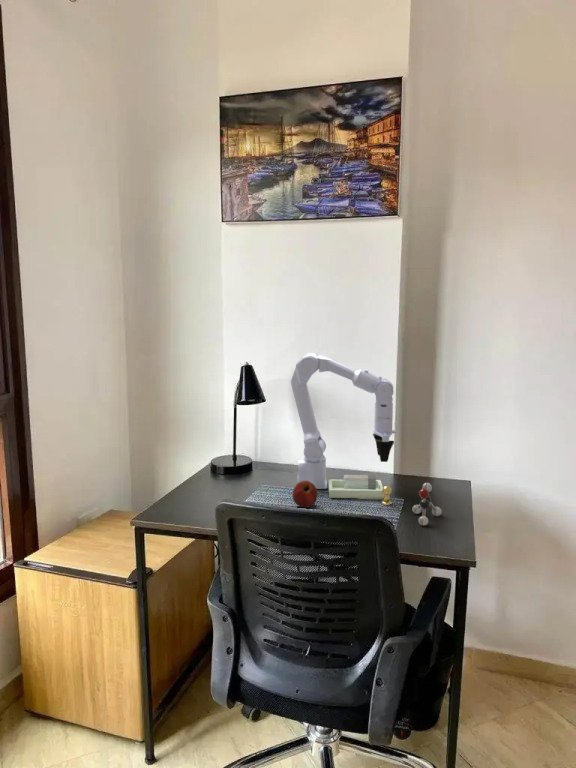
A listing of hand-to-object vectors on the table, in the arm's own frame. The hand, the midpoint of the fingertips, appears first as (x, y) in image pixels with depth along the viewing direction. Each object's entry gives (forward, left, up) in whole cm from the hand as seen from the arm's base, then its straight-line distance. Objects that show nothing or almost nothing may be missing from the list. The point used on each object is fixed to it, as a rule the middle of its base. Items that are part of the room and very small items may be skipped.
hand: (382, 458), depth 191 cm
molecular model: (+9, -27, -11) cm, 30 cm away
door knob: (0, -14, -10) cm, 17 cm away
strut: (-8, -5, -10) cm, 13 cm away
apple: (-25, -17, -11) cm, 32 cm away
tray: (-9, -5, -10) cm, 14 cm away
